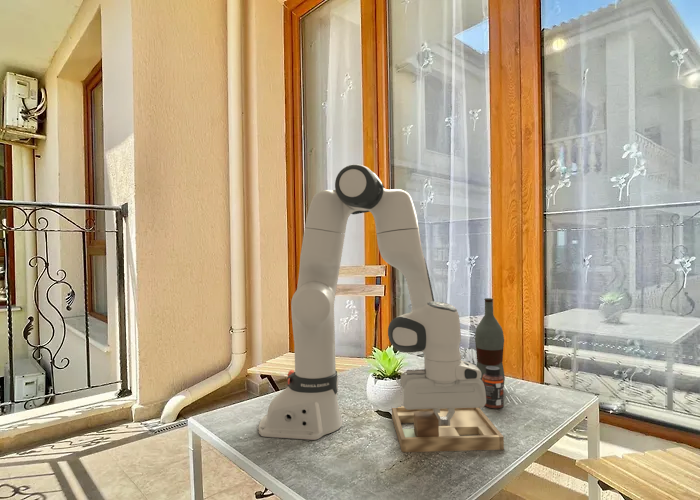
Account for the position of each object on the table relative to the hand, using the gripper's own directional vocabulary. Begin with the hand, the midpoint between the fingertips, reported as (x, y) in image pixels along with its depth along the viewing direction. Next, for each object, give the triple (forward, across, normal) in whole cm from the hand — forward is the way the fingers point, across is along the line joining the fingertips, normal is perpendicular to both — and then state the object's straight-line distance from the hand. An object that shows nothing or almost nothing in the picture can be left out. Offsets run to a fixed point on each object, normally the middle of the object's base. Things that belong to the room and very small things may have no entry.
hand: (443, 425), depth 103 cm
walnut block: (+2, -4, -1) cm, 5 cm away
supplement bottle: (+4, +20, +22) cm, 30 cm away
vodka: (+4, +24, +36) cm, 43 cm away
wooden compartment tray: (+4, +1, +6) cm, 7 cm away
